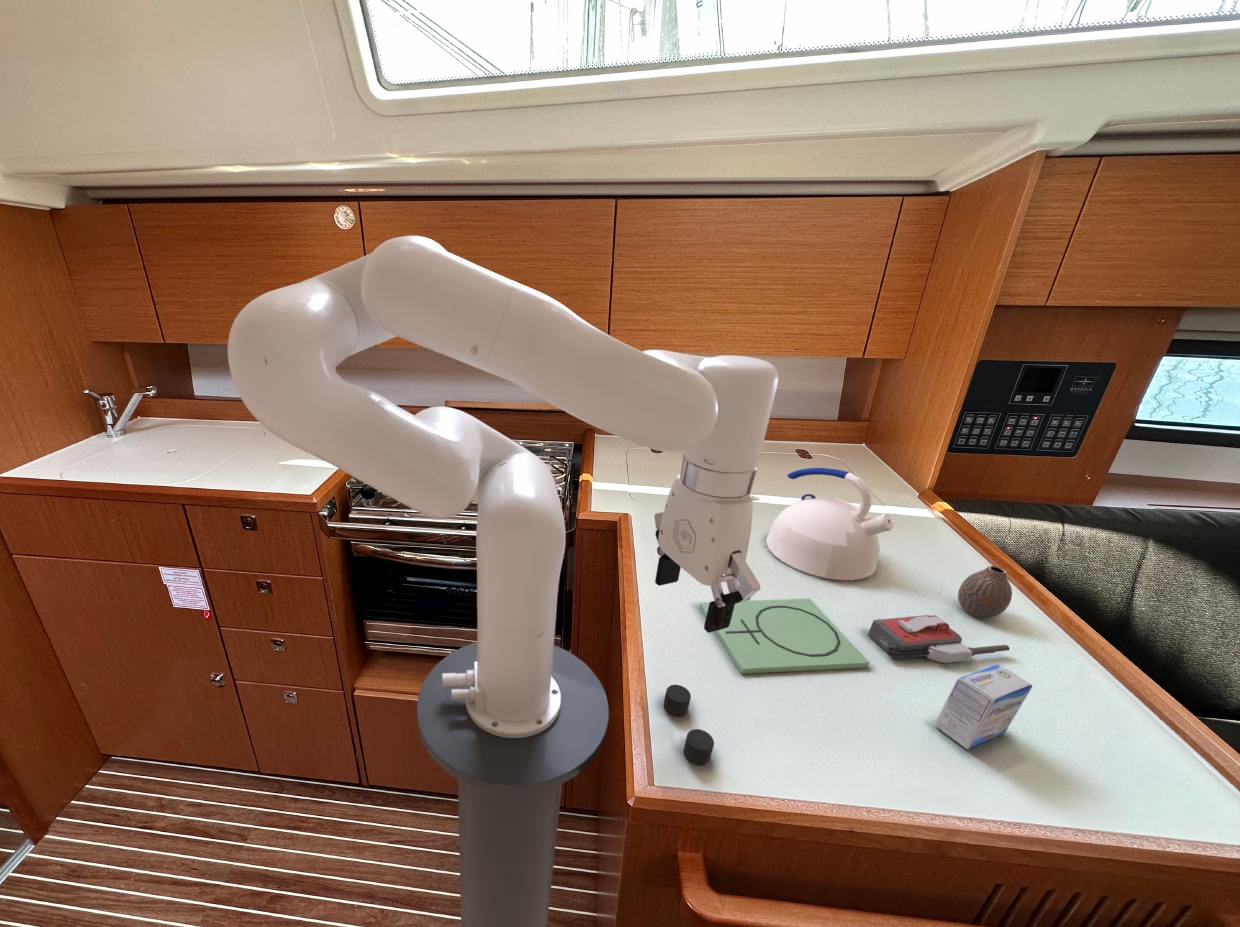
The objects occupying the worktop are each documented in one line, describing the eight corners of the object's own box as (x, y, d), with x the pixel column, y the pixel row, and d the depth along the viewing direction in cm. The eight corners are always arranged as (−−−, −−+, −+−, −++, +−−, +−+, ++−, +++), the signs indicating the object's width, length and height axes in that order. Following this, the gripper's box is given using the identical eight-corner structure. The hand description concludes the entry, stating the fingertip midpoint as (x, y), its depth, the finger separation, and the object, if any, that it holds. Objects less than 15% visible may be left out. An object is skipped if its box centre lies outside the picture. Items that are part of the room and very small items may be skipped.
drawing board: (741, 674, 82) (742, 668, 81) (698, 607, 96) (700, 602, 95) (867, 667, 84) (869, 662, 83) (808, 603, 98) (809, 598, 98)
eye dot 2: (689, 766, 67) (692, 751, 66) (679, 744, 70) (683, 729, 69) (714, 764, 68) (718, 749, 66) (703, 742, 70) (707, 728, 69)
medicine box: (966, 751, 71) (995, 701, 67) (932, 725, 74) (957, 676, 70) (1005, 734, 73) (1035, 685, 70) (970, 709, 77) (996, 661, 73)
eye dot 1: (668, 717, 74) (671, 703, 73) (660, 699, 77) (663, 685, 76) (691, 716, 74) (694, 701, 73) (682, 697, 77) (685, 683, 76)
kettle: (850, 595, 101) (883, 506, 92) (746, 547, 115) (767, 466, 106) (893, 559, 112) (927, 477, 104) (794, 520, 126) (816, 444, 118)
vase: (1002, 629, 93) (1026, 585, 89) (953, 614, 97) (974, 572, 93) (998, 608, 99) (1020, 566, 95) (951, 595, 102) (970, 554, 98)
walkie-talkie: (898, 671, 83) (1010, 659, 87) (908, 648, 81) (1023, 636, 85) (857, 633, 91) (962, 623, 94) (866, 611, 89) (972, 602, 92)
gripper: (642, 451, 66) (625, 572, 74) (746, 516, 52) (711, 658, 59) (694, 444, 68) (673, 562, 76) (806, 504, 54) (765, 642, 62)
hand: (689, 604), depth 68 cm, fingers open, 9 cm apart
